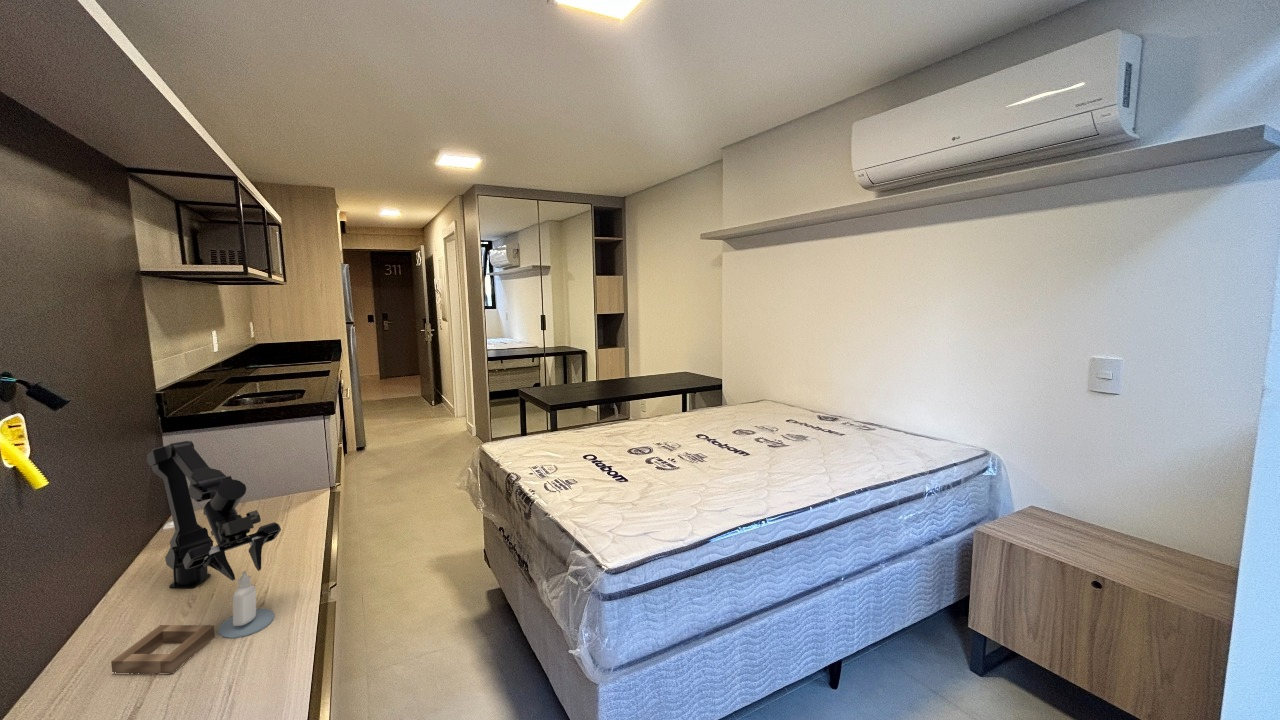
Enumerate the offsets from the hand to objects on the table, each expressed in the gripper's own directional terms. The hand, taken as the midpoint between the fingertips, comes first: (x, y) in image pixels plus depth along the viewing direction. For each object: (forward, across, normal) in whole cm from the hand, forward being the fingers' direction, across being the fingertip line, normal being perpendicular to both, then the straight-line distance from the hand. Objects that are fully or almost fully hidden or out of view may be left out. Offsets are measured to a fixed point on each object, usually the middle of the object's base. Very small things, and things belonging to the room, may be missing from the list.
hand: (247, 574), depth 124 cm
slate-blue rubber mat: (+8, 0, +10) cm, 13 cm away
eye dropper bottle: (+8, 0, +10) cm, 13 cm away
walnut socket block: (+7, -15, +12) cm, 20 cm away
